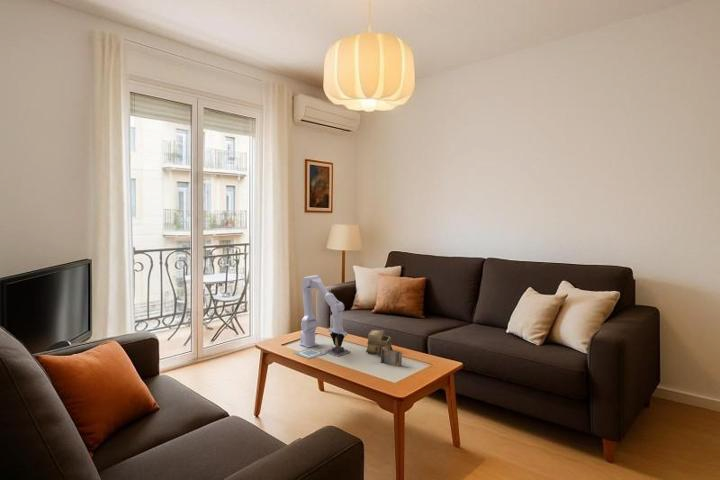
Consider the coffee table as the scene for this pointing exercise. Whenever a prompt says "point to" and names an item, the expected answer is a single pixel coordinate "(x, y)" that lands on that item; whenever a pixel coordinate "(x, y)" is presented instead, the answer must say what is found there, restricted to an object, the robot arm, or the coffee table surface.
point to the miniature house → (378, 342)
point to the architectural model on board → (391, 357)
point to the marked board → (309, 353)
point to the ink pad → (337, 352)
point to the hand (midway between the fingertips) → (337, 345)
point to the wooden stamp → (337, 346)
